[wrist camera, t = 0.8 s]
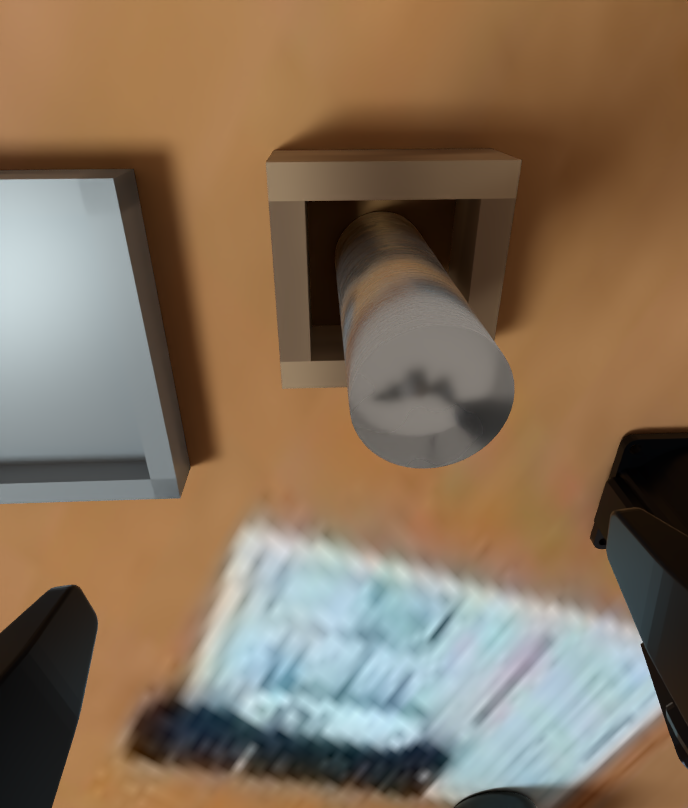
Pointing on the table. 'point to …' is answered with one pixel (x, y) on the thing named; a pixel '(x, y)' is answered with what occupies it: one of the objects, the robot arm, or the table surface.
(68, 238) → the tray
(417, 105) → the table surface
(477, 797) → the supplement bottle
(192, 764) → the table surface
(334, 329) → the socket
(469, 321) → the pin
